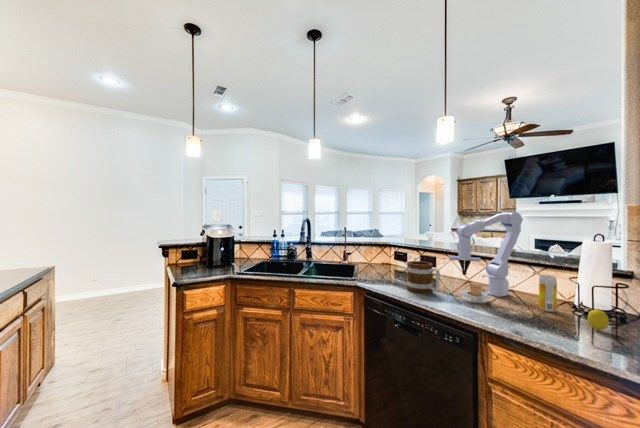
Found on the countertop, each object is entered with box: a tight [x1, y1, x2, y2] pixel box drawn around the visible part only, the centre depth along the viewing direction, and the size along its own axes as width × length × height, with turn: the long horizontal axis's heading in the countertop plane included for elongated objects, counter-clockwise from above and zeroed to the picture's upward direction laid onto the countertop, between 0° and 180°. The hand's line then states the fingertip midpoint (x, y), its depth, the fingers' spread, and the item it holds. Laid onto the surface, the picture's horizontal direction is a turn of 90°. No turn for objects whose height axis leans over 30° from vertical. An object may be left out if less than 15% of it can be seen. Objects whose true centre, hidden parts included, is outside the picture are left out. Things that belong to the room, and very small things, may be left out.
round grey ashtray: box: [461, 289, 489, 304], centre depth 140 cm, size 11×11×3 cm
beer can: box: [538, 274, 558, 313], centre depth 125 cm, size 6×6×15 cm
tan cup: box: [468, 282, 483, 295], centre depth 140 cm, size 6×6×7 cm
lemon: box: [587, 308, 610, 332], centre depth 103 cm, size 6×6×8 cm
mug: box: [406, 260, 441, 295], centre depth 154 cm, size 20×14×15 cm
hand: (464, 274), depth 149 cm, fingers closed
